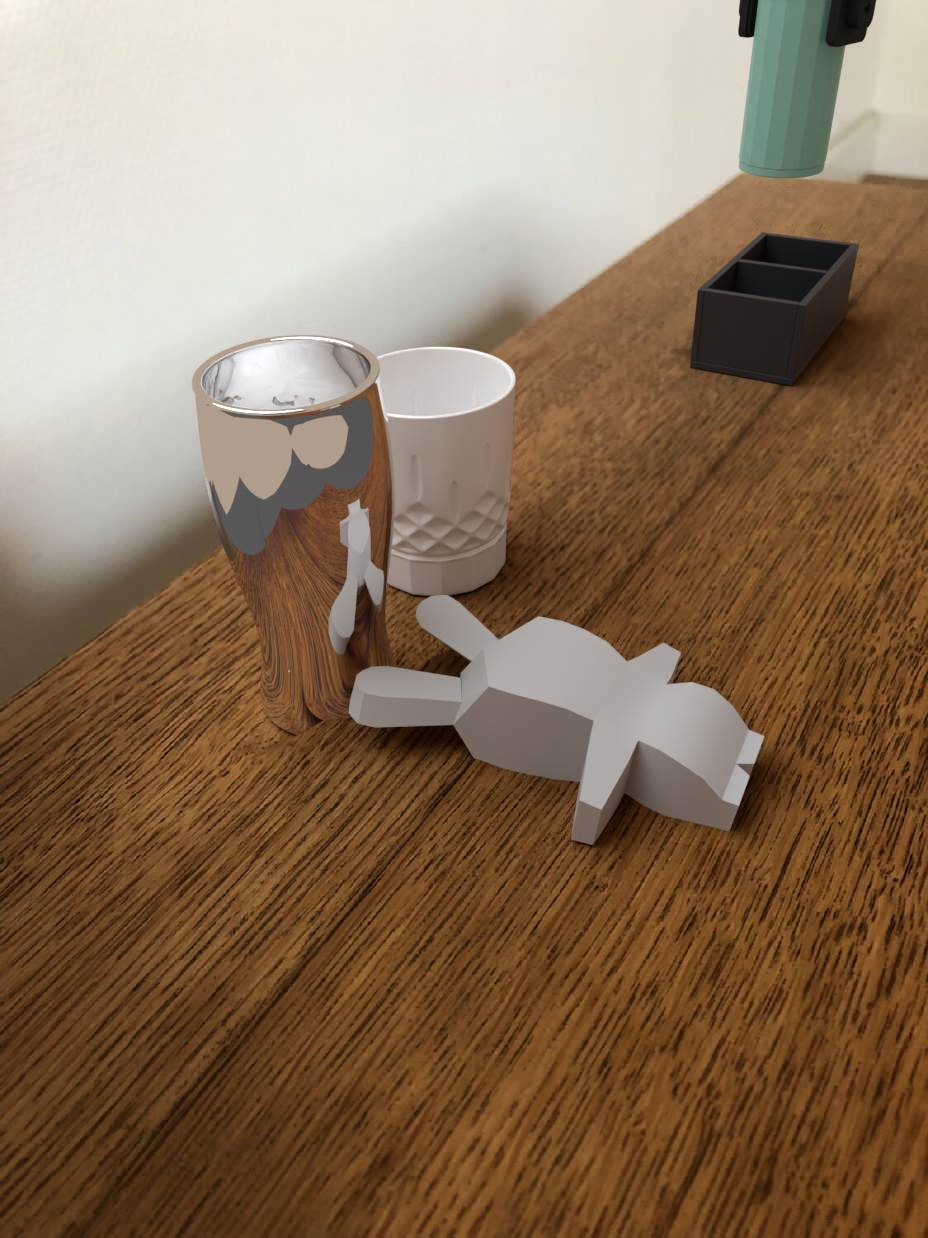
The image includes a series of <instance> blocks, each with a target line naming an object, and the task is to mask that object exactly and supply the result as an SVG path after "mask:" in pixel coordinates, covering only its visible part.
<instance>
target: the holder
mask: <svg viewBox="0 0 928 1238" xmlns="http://www.w3.org/2000/svg"><path fill="white" fill-rule="evenodd" d="M859 246H860V245H859V243H854V242H853V243H852V242H844V241H837V240H831V239H829V240H828V239H820V238H813V237H805V236H796V235H788V234H780V233H771V232H764V231H762V232H760V233H759V234H758V235H757V236H756V237H755V238H754V239H752V241H750V242H748V244H747V245H746V246H745V247H744V248H742V249H741V250H740V251H739V252H738V253H737V254H736V255H735V256H734V257H733V258H731V259H730V260H729V261H728V262H727V263H726V264H724V265H723V266H722V267H720V269H719V270H718V271H717V272H716V273H714V274H713V275H712V276H711V277H710V278H709V279H708V280H707V281H706V282H704V283H703V284H702V285H701V286H700V287H699V288H697V294H696V303H695V313H694V322H693V330H692V331H693V332H692V342H691V349H690V351H691V352H690V361H689V368H693V369H698V370H704V371H709V372H714V373H719V374H724V375H731V376H734V377H735V376H736V377H741V378H747V379H753V380H758V381H763V382H769V383H774V384H779V385H785V386H790V387H793V386H794V384H795V383H796V382H797V380H798V379H799V378H800V376H802V374H803V373H804V371H805V370H806V369H807V368H808V366H809V365H810V363H811V362H812V361H813V360H814V358H815V357H816V355H817V354H818V353H819V352H820V350H821V349H822V348H823V346H824V345H825V344H826V343H827V342H828V340H829V338H830V337H831V336H832V335H833V333H834V332H835V331H836V329H838V327H839V326H840V324H841V323H842V322H843V320H844V319H845V317H846V313H847V309H848V303H849V299H850V292H851V287H852V283H853V277H854V272H855V267H856V262H857V257H858V251H859Z"/></svg>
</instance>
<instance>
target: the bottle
mask: <svg viewBox="0 0 928 1238" xmlns="http://www.w3.org/2000/svg"><path fill="white" fill-rule="evenodd" d="M831 2H832V0H758V8H757V16H756V24H755V32H754V37H753V40H752V47H751V48H752V49H751V57H750V65H749V73H748V79H747V80H748V81H747V89H746V90H747V91H746V96H745V105H744V113H743V121H742V129H741V137H740V138H741V139H740V145H739V153H738V169H739V170H740V171H742V172H743V173H746V174H748V175H751V176H755V177H763V178H771V179H801V178H807V177H814V176H816V175H819V174H821V173H822V172H823V171H824V169H825V164H826V161H827V157H828V151H829V144H830V138H831V132H832V127H833V121H834V115H835V109H836V104H837V98H838V93H839V87H840V80H841V74H842V68H843V63H844V57H845V52H846V46H847V45H845V46H841V47H832V46H828V44H827V43H826V33H827V27H828V21H829V14H830V8H831Z"/></svg>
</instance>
